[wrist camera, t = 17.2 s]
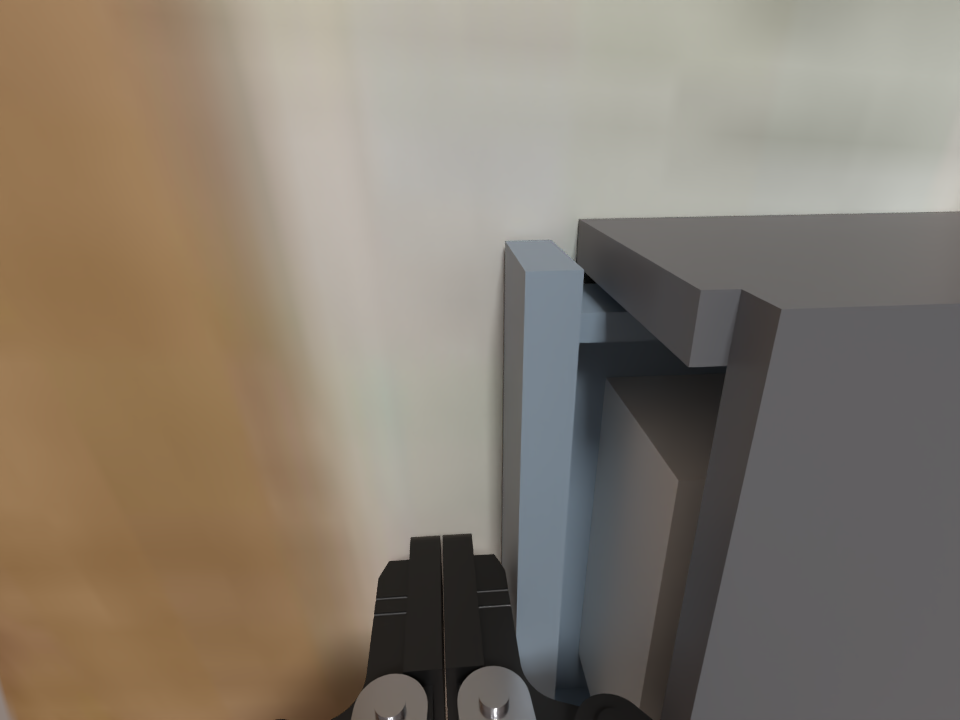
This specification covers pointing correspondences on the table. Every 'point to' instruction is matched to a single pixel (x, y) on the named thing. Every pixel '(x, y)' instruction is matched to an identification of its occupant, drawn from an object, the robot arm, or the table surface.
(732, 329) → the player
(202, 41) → the table surface
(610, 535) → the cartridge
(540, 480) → the tray
